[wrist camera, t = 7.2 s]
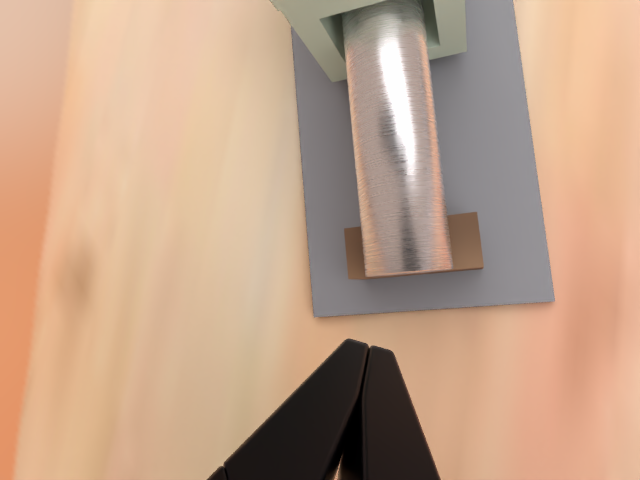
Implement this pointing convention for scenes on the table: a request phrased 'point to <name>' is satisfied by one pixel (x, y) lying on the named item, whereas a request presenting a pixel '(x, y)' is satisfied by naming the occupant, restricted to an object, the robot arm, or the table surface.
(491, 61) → the pipe rig
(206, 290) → the table surface
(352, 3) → the pale green stepped block
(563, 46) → the table surface
